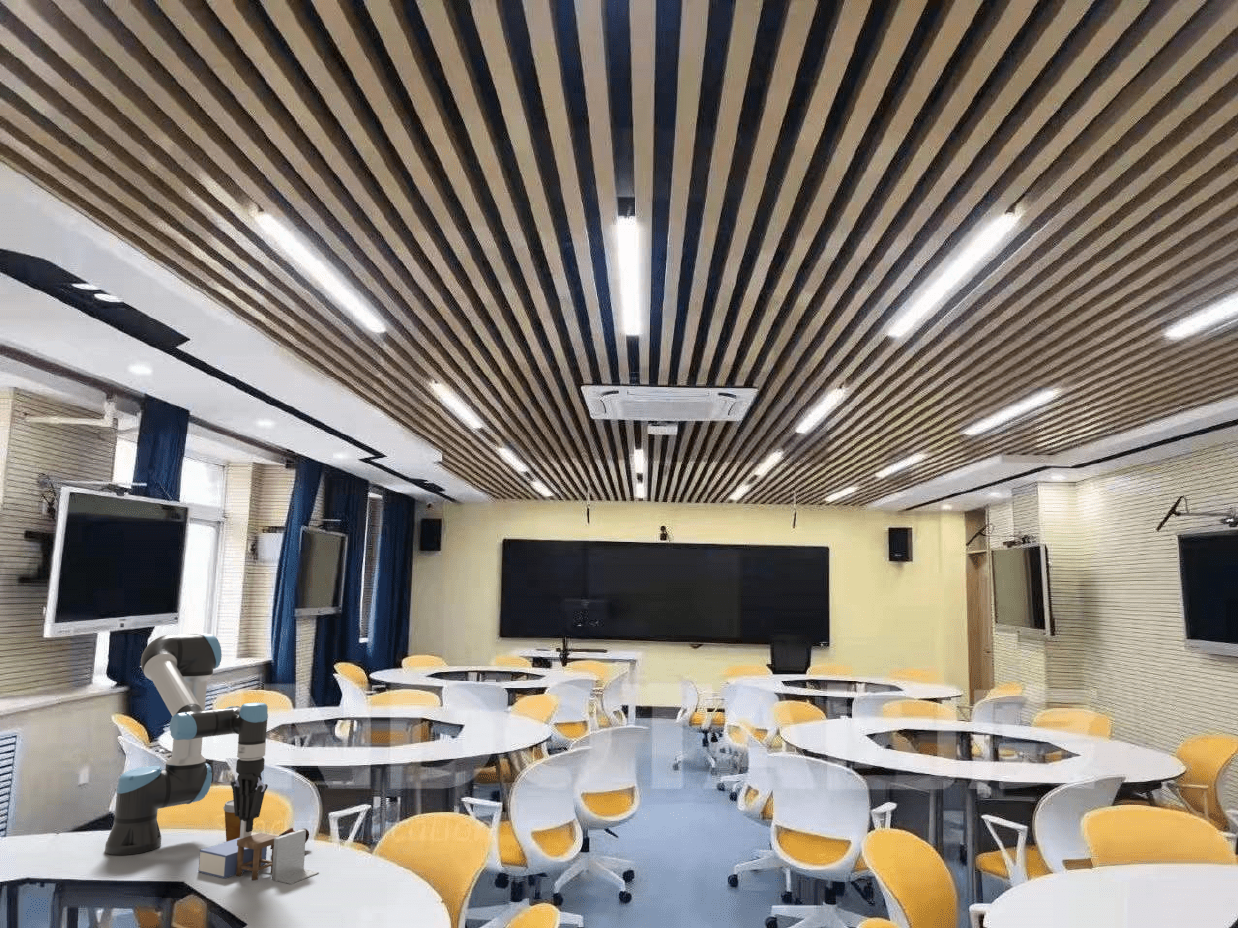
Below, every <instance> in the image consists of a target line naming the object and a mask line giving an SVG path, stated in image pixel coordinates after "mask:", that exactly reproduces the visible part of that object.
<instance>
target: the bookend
mask: <svg viewBox="0 0 1238 928" xmlns="http://www.w3.org/2000/svg"><path fill="white" fill-rule="evenodd" d="M304 829H305V828H301V829H299V830H294V831H295V832H292V833H289V834H286V835H283V836H279V835H278V836H279V837H276V838H274V850H273V866H272V873H271V880H272V881H276V882H280V883H284V884H289V885H292V884H295V883H297V882H300V881H303V880H305V879H306V880H307V879H308V878H310V877H311V878H312V877H313V876H315V875H319V873H320V872H318V871H314V870H310V869H306V868H305V856H306V855H305V852H306V843H305V839H306V830H304Z"/></svg>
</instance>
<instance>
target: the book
mask: <svg viewBox="0 0 1238 928" xmlns="http://www.w3.org/2000/svg"><path fill="white" fill-rule="evenodd" d="M239 839H240V838H237V839H234V840H231V841H227V842H226V841H225V842H222V843H218V844H215V845H211V846H208V847H204V848H201V849H200V850H199V858H198V871H199V872H198V873H200V872H202V873H201V874H204V873H205V874H204V875H208V874H209V875H210V876H214V877H219V878H222V879H227V878H229V877H232V876H236V869H237V855H238V846H237V840H239ZM267 851H268V846H267V847H264V848H262V859H265V860H267V853H268V852H267ZM253 854H254V849H249V848H245V847H244V856H243V863H246V862H249V861H252V860H253ZM263 864H264V865H266V863H261V865H262V866H263ZM248 866H249V867H253V864H250V865H248ZM243 871H244V872H246V870H245V869H243ZM243 871H242V873H244V872H243Z"/></svg>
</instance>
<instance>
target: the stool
mask: <svg viewBox="0 0 1238 928" xmlns="http://www.w3.org/2000/svg"><path fill="white" fill-rule="evenodd" d="M276 837H279V835H275V834H274V835H273V834H268V833H263V832H258V833H255V834H251V836H248V837H245V838H242V839H239V840H237V846H238V855H237V869H236V875H235V876H236V877H241V876H243V872H242V871H243V869H245V870H247V871H251V880H252V881H256V880H258V879H259V872H260V871H262V870H265V869H267V868H270V874H272V866H273V850H274V838H276ZM271 845H272V849H271V860H269V859H266V860H265V859H262V848H264V847H267V848H268V847H271ZM244 847H245V848H249V849H254V854H253V860H252V861H249V862H246V863H243V856H244ZM261 863H266V864H264V865H262V866H261ZM250 864H253V867H249V866H248V865H250Z"/></svg>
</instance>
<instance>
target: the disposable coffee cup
mask: <svg viewBox="0 0 1238 928" xmlns="http://www.w3.org/2000/svg"><path fill="white" fill-rule="evenodd" d="M222 807H223V811H224V825H225V827H224V828H225V842H227V841H231V840H234V839H237V838H240V829H239V828H240V819H239V817H238V816H235V811H234V800H233V799H231V800H227V801H226V802H225V803H224V806H222Z"/></svg>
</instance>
